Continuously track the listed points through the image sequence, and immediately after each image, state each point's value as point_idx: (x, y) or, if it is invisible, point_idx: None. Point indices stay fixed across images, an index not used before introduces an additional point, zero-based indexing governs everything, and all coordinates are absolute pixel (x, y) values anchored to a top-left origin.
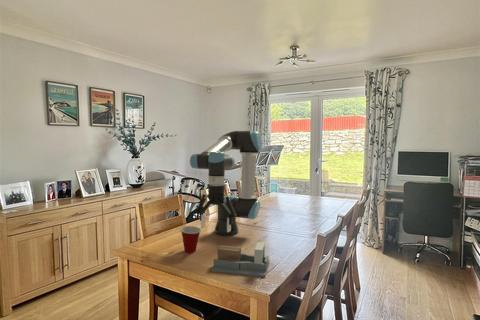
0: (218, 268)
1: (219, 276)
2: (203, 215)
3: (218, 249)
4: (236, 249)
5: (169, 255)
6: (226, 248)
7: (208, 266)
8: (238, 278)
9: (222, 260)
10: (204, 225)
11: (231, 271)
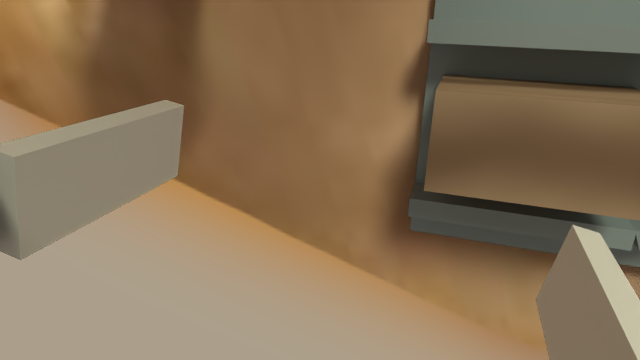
0: (454, 225)
1: (472, 282)
2: (37, 220)
3: (431, 190)
4: (625, 180)
5: (90, 33)
6: (508, 166)
7: (374, 158)
8: None
9: (479, 218)
10: (167, 129)
11: (552, 251)
